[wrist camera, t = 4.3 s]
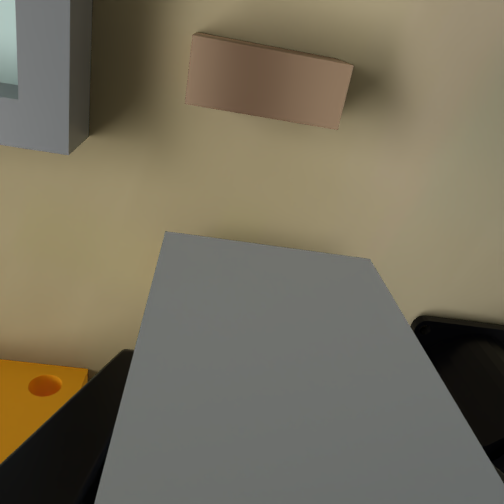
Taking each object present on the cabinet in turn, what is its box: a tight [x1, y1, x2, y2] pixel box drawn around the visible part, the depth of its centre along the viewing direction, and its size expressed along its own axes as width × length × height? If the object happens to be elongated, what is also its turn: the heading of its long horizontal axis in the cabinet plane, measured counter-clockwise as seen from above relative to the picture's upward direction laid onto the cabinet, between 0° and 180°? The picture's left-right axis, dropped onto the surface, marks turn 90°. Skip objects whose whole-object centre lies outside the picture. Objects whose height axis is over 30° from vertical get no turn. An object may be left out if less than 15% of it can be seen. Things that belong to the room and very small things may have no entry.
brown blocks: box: [185, 32, 354, 130], centre depth 18 cm, size 5×10×2 cm, turn 170°
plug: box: [94, 231, 504, 504], centre depth 7 cm, size 4×4×8 cm
